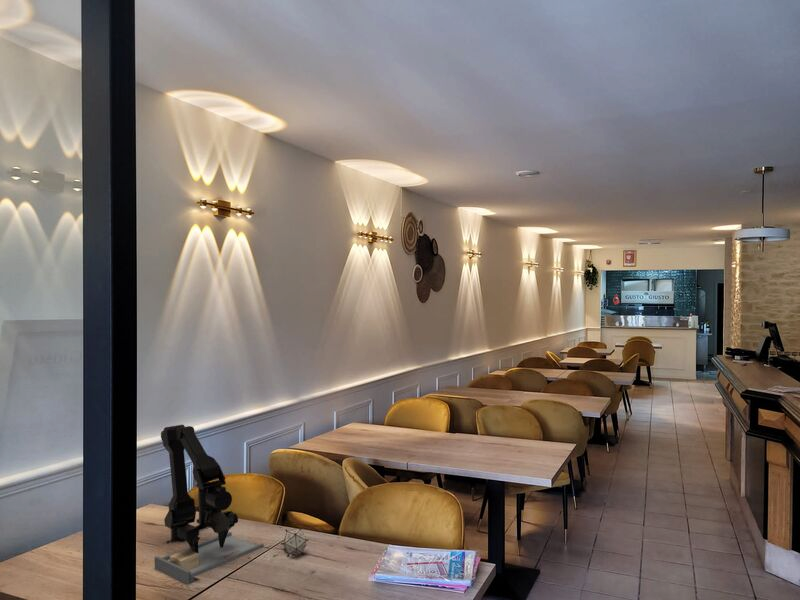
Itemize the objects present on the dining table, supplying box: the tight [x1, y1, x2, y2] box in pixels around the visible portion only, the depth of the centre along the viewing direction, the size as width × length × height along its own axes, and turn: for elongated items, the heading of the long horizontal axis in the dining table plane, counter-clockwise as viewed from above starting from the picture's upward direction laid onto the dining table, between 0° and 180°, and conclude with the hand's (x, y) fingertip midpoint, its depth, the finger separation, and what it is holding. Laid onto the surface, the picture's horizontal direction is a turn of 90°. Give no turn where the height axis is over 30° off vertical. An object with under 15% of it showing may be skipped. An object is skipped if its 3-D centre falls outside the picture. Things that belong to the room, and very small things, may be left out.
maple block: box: [169, 548, 199, 570], centre depth 179 cm, size 6×6×4 cm
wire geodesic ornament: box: [280, 526, 309, 558], centre depth 190 cm, size 9×8×10 cm
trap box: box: [154, 531, 264, 585], centre depth 187 cm, size 18×28×4 cm, turn 142°
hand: (209, 552), depth 187 cm, fingers open, 9 cm apart
